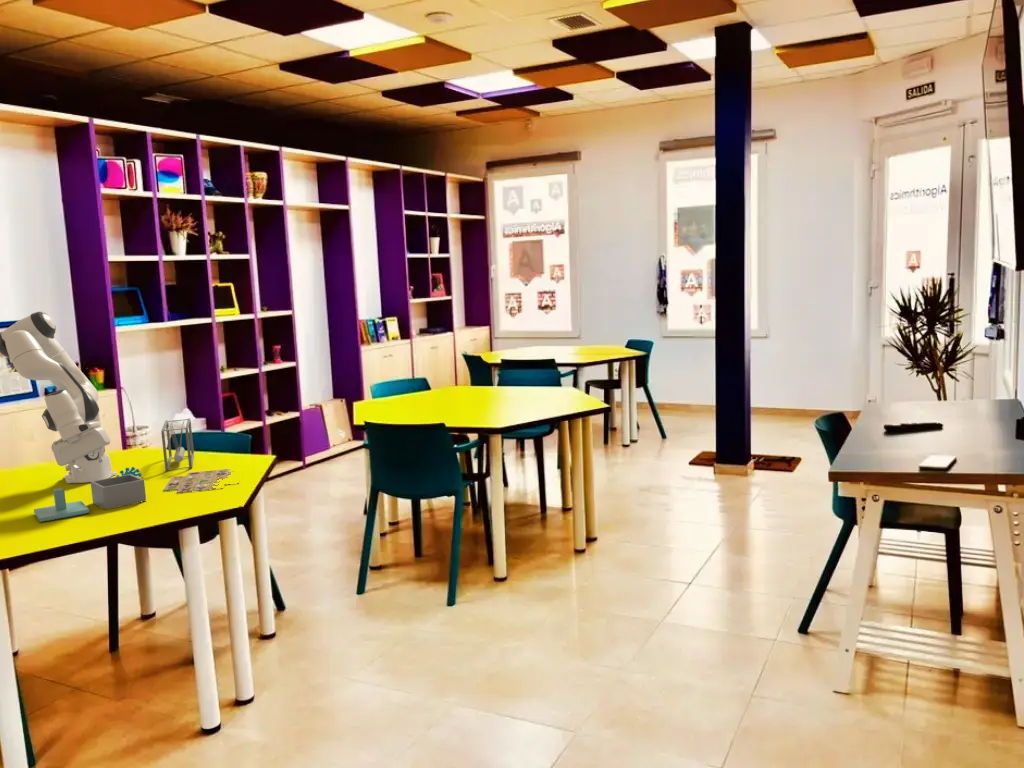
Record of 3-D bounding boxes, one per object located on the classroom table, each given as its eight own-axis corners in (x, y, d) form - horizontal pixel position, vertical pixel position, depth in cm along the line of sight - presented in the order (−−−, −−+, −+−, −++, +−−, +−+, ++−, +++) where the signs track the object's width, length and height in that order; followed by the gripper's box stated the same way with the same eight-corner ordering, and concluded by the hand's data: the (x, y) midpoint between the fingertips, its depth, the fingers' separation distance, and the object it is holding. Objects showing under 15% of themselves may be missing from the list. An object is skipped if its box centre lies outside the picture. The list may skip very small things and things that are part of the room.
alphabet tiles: (160, 496, 313) (160, 493, 313) (173, 476, 345) (173, 473, 345) (238, 488, 320) (238, 485, 320) (244, 469, 352) (244, 466, 352)
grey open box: (92, 503, 307) (90, 481, 306) (133, 495, 316) (130, 474, 315) (105, 509, 296) (102, 487, 295) (146, 501, 306) (143, 479, 305)
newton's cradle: (192, 469, 356) (187, 427, 353) (165, 472, 352) (161, 430, 350) (194, 455, 384) (190, 417, 382) (169, 458, 381) (165, 419, 378)
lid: (34, 515, 295) (31, 489, 294) (81, 506, 304) (78, 481, 303) (40, 524, 283) (36, 497, 282) (89, 515, 292) (86, 489, 290)
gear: (109, 486, 324) (121, 464, 330) (116, 494, 329) (127, 472, 335) (135, 490, 323) (147, 468, 328) (141, 498, 327) (153, 475, 333)
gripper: (44, 445, 303) (61, 480, 303) (93, 421, 301) (110, 456, 301) (54, 442, 309) (71, 476, 310) (102, 419, 307) (119, 454, 308)
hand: (91, 466), depth 305 cm, fingers open, 8 cm apart
